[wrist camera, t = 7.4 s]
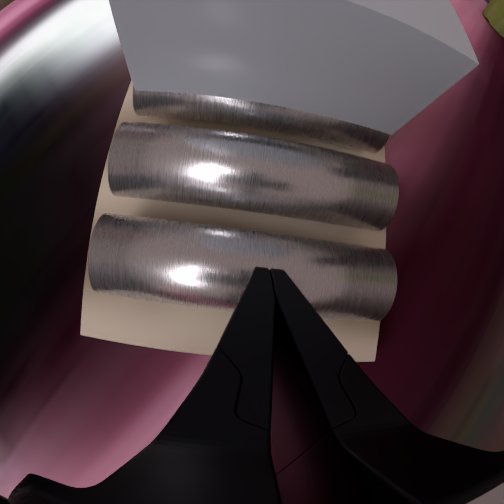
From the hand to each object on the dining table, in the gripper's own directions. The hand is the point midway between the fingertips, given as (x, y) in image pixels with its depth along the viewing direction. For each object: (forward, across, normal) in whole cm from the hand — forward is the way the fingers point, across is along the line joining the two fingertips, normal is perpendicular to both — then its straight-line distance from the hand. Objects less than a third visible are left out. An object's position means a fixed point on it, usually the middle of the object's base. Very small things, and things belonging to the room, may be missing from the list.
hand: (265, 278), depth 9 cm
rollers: (+10, 0, -1) cm, 10 cm away
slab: (+10, 0, -6) cm, 12 cm away
